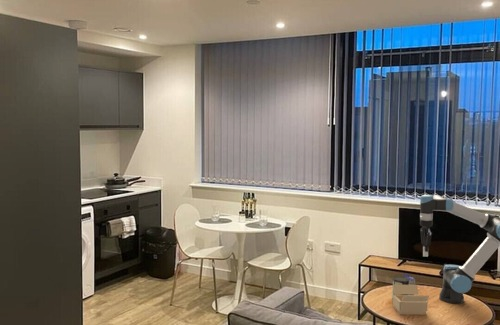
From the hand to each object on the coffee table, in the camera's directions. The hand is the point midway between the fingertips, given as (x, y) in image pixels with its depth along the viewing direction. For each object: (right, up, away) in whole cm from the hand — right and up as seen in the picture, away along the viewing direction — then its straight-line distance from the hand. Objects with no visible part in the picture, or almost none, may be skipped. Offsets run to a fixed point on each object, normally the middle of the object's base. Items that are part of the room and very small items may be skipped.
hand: (425, 256), depth 317 cm
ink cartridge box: (-6, -30, +19) cm, 36 cm away
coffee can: (-13, -31, +10) cm, 35 cm away
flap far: (-13, -20, -3) cm, 25 cm away
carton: (-13, -32, -10) cm, 36 cm away
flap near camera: (-13, -22, -18) cm, 31 cm away
